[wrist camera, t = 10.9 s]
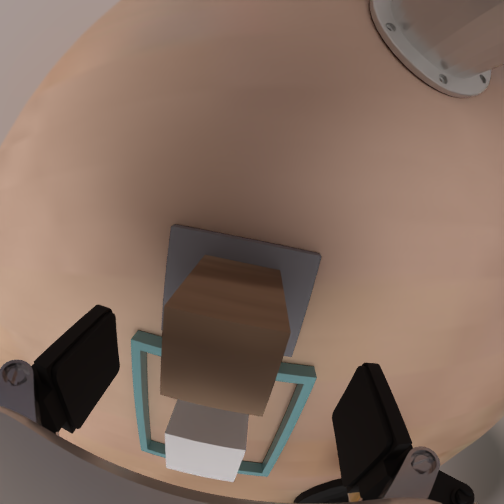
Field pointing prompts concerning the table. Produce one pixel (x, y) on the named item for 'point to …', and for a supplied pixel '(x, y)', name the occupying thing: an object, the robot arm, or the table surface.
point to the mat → (247, 251)
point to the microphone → (324, 494)
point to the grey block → (205, 441)
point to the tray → (286, 373)
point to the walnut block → (225, 336)
